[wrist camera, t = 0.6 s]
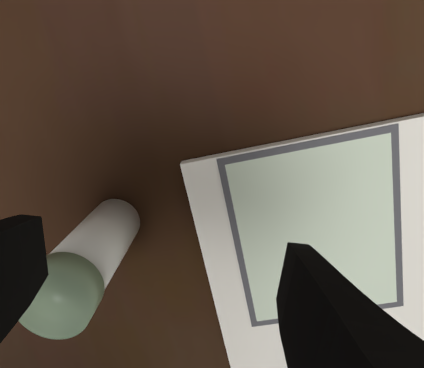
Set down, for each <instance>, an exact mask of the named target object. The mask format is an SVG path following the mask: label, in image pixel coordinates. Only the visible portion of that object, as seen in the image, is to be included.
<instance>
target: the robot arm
mask: <svg viewBox="0 0 424 368" xmlns="http://www.w3.org/2000/svg"><path fill="white" fill-rule="evenodd" d="M48 275H49V274H48V266H47V258H46V250H45V242H44V234H43V226H42V218H41V217H40V216H30V215H17V216H12V217H9V218H5V219H2V220H0V343H1V342H2V340H3V339H4V338H5V337H6V335H7V334H8V333H9V332H10V330H11V329H12V328H13V327H14V325H15V324H16V323H17V322H18V320H19V319H20V318H21V317H22V315H23V314H24V313H25V311H26V310H27V309H28V307H29V306H30V305H31V303H32V302H33V300H34V298H35V297H36V295H37V294H38V292H39V290H40V289H41V287H42V285H43V283H44V282H45V280H46V278H47V276H48ZM276 304H277V314H278V324H279V332H280V337H281V342H282V346H283V350H284V355H285V359H286V364H287V368H424V340H422V339H421V338H419V337H418V336H417V335H415V334H414V333H412V332H411V331H410V330H408V329H407V328H406V327H404V326H403V325H402V324H400V323H399V322H398V321H397V320H395V319H394V318H393V317H392V316H390V315H389V314H388V313H387V312H385V311H384V310H383V309H382V308H380V307H379V306H378V305H377V304H375V303H374V302H373V301H372V300H371V299H370V298H368V297H367V296H366V295H365V294H364V293H362V292H361V291H360V290H359V289H358V288H357V287H356V286H354V285H353V284H352V283H351V282H350V281H349V280H348V279H347V278H346V277H344V276H343V275H342V274H341V273H340V272H339V271H338V270H337V269H336V268H335V267H334V266H333V265H331V264H330V263H329V262H328V261H327V260H326V259H325V258H324V257H323V256H322V255H321V254H320V253H318V252H317V251H316V250H315V249H314V248H313V247H312V246H310V245H309V244H300V243H291V242H288V243H287V247H286V252H285V257H284V262H283V267H282V272H281V277H280V282H279V287H278V292H277V297H276Z"/></svg>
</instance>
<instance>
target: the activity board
mask: <svg viewBox="0 0 424 368" xmlns="http://www.w3.org/2000/svg"><path fill="white" fill-rule="evenodd" d="M180 167H181V171H182V175H183V179H184V183H185V187H186V191H187V195H188V199H189V203H190V207H191V211H192V215H193V219H194V223H195V227H196V231H197V235H198V239H199V243H200V247H201V251H202V255H203V259H204V263H205V267H206V271H207V275H208V279H209V283H210V287H211V291H212V295H213V299H214V303H215V307H216V311H217V315H218V319H219V323H220V327H221V331H222V335H223V339H224V343H225V347H226V351H227V355H228V359H229V363H230V367H231V368H287V364H286V359H285V355H284V350H283V346H282V342H281V337H280V332H279V324H278V314H277V304H276V297H277V292H278V287H279V282H280V277H281V272H282V267H283V262H284V257H285V252H286V247H287V243H288V242H291V243H300V244H309V245H310V246H312V247H313V248H314V249H315V250H316V251H317V252H318V253H320V254H321V255H322V256H323V257H324V258H325V259H326V260H327V261H328V262H329V263H330V264H331V265H333V266H334V267H335V268H336V269H337V270H338V271H339V272H340V273H341V274H342V275H343V276H344V277H346V278H347V279H348V280H349V281H350V282H351V283H352V284H353V285H354V286H356V287H357V288H358V289H359V290H360V291H361V292H362V293H364V294H365V295H366V296H367V297H368V298H370V299H371V300H372V301H373V302H374V303H375V304H377V305H378V306H379V307H380V308H382V309H383V310H384V311H385V312H387V313H388V314H389V315H390V316H392V317H393V318H394V319H395V320H397V321H398V322H399V323H400V324H402V325H403V326H404V327H406V328H407V329H408V330H410V331H411V332H412V333H414V334H415V335H417V336H418V337H419V338H421V339H422V340H424V113H421V114H416V115H411V116H406V117H401V118H396V119H391V120H386V121H381V122H376V123H371V124H366V125H361V126H356V127H351V128H346V129H341V130H336V131H331V132H325V133H320V134H315V135H310V136H305V137H300V138H295V139H290V140H285V141H280V142H275V143H270V144H265V145H260V146H255V147H250V148H245V149H240V150H235V151H230V152H224V153H219V154H214V155H209V156H204V157H199V158H194V159H189V160H184V161H181V163H180Z"/></svg>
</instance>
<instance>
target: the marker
mask: <svg viewBox="0 0 424 368" xmlns="http://www.w3.org/2000/svg"><path fill="white" fill-rule="evenodd" d="M139 228H140V217H139V215H138V212H137V211H136V209H135V208H134V207H133V206H132V205H131V204H129V203H128V202H126V201H123V200H120V199H109V200H106V201H103V202H102V203H100V204H99V205H98V206H97V207H96V208H95V209H94V210H93V211H92V212H91V213H90V214H89V215H88V216H87V217H86V218H85V219H84V220H83V221H82V222H81V223H80V224H79V225H78V226H77V227H76V228H75V229H74V230H73V231H72V232H71V233H70V234H69V235H68V236H67V237H66V238H65V239H64V240H63V241H62V242H61V243H60V244H59V245H58V246H57V247H56V248H55V249H54V250H53V251H52V252H51V253H50V254H48V255H46V258H47V266H48V274H49V275H48V276H47V278H46V280H45V282H44V283H43V285H42V287H41V289H40V290H39V292H38V294H37V295H36V297H35V298H34V300H33V302H32V303H31V305H30V306H29V307H28V309H27V310H26V311H25V313H24V314H23V315H22V317H21V318H20V319H19V320H18V321H19V322H20V323H21V324H22V325H23V326H24V327H25V328H27V329H28V330H29V331H31V332H33V333H35V334H37V335H39V336H42V337H45V338H49V339H67V338H71V337H74V336H76V335H78V334H79V333H81V332H82V331H83V330H84V329H85V328H86V326H87V325H88V323H89V321H90V319H91V318H92V316H93V314H94V312H95V311H96V309H97V307H98V305H99V303H100V302H101V300H102V298H103V295H104V290H105V288H106V287H107V285H108V283H109V281H110V280H111V278H112V276H113V274H114V273H115V271H116V269H117V267H118V266H119V264H120V262H121V260H122V259H123V257H124V255H125V253H126V252H127V250H128V248H129V246H130V245H131V243H132V241H133V239H134V238H135V236H136V234H137V232H138V231H139Z"/></svg>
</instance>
